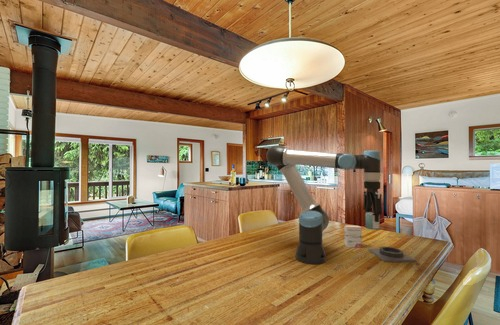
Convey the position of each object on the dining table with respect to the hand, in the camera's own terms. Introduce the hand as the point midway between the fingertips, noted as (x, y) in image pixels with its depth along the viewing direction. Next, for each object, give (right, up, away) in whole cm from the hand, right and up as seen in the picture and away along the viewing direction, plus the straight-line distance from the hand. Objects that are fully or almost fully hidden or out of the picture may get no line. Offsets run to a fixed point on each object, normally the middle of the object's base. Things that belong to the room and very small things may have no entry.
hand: (372, 226), depth 124 cm
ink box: (-1, -17, +21) cm, 27 cm away
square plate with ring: (+13, -17, +6) cm, 22 cm away
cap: (0, -1, 0) cm, 1 cm away
